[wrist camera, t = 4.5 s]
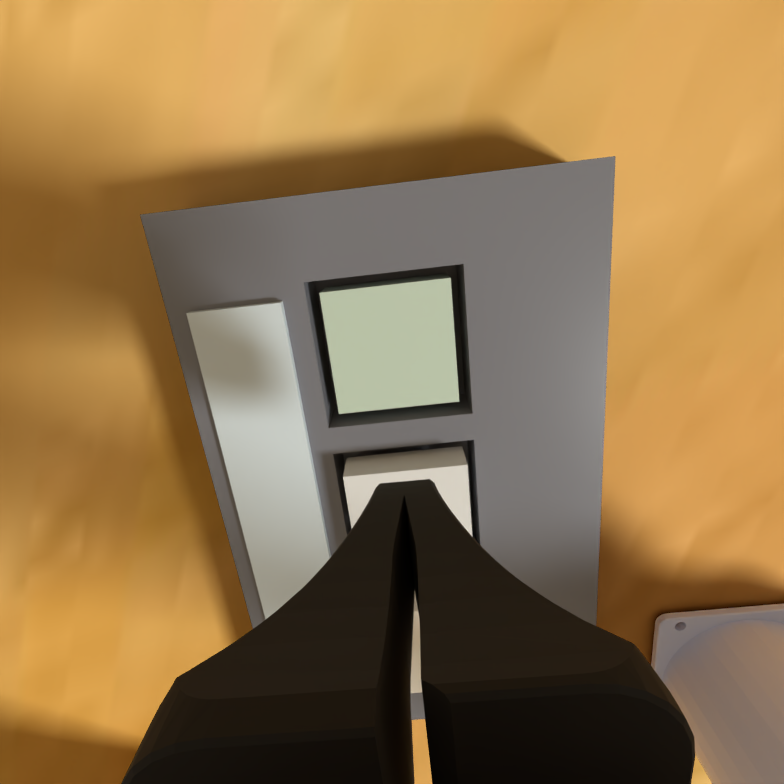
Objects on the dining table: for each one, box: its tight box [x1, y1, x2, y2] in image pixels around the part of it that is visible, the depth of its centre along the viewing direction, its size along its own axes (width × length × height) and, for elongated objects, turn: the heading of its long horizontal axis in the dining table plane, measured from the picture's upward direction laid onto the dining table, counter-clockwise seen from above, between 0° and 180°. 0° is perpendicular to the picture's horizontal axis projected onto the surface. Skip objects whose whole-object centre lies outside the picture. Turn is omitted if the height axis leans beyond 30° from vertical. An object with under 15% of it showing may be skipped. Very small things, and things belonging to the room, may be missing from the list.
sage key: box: [319, 273, 459, 414], centre depth 16 cm, size 4×4×1 cm
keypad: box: [140, 156, 615, 720], centre depth 19 cm, size 14×22×3 cm, turn 6°
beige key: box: [343, 446, 472, 536], centre depth 17 cm, size 4×4×1 cm
